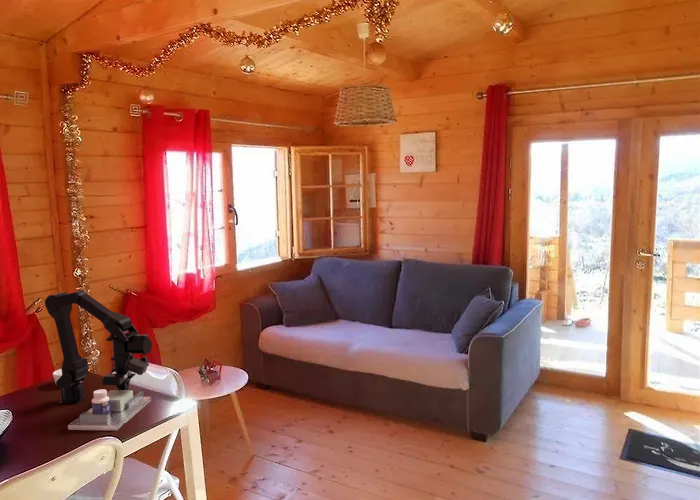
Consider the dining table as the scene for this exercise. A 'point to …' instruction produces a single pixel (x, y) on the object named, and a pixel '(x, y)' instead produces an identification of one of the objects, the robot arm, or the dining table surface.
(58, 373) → the ramekin
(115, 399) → the block
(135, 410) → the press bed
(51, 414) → the dining table surface
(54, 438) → the dining table surface
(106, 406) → the pill bottle
